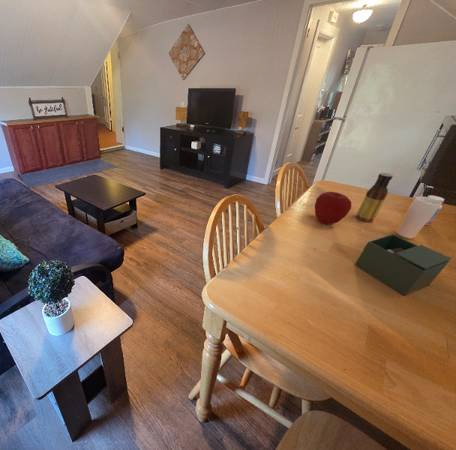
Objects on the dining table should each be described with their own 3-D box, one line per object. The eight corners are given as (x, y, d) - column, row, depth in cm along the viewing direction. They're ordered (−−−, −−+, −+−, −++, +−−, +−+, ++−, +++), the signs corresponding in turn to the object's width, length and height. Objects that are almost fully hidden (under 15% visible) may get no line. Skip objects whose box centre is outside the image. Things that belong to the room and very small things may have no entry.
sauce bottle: (367, 215, 107) (390, 171, 96) (376, 223, 101) (402, 177, 91) (351, 214, 107) (373, 171, 96) (360, 222, 102) (384, 176, 91)
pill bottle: (431, 227, 99) (449, 202, 93) (411, 223, 102) (428, 198, 96) (427, 221, 103) (444, 197, 97) (409, 217, 106) (424, 193, 100)
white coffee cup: (389, 229, 97) (410, 195, 89) (409, 231, 96) (432, 197, 88) (400, 239, 91) (424, 203, 83) (421, 241, 90) (447, 205, 82)
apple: (348, 229, 97) (364, 199, 90) (319, 229, 97) (332, 198, 90) (330, 214, 107) (343, 186, 100) (303, 214, 107) (314, 186, 100)
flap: (450, 259, 66) (451, 258, 66) (425, 269, 63) (425, 268, 62) (420, 245, 72) (420, 244, 71) (395, 254, 68) (395, 253, 68)
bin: (429, 285, 71) (449, 260, 66) (404, 296, 68) (424, 270, 63) (378, 257, 82) (392, 234, 77) (354, 265, 79) (368, 241, 74)
